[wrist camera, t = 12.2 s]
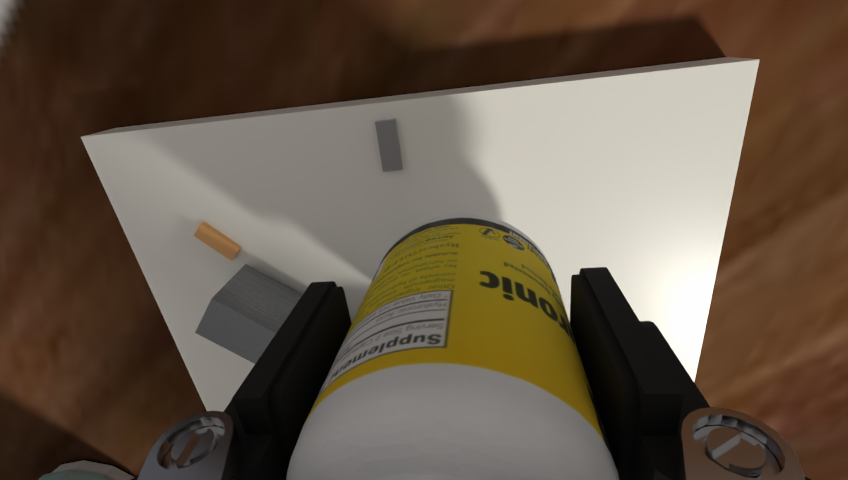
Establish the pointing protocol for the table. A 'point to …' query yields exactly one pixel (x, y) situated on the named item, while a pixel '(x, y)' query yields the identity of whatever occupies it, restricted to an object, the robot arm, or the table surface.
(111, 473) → the disposable coffee cup
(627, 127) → the dial plate
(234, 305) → the grey lever handle
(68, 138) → the table surface
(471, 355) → the supplement bottle
